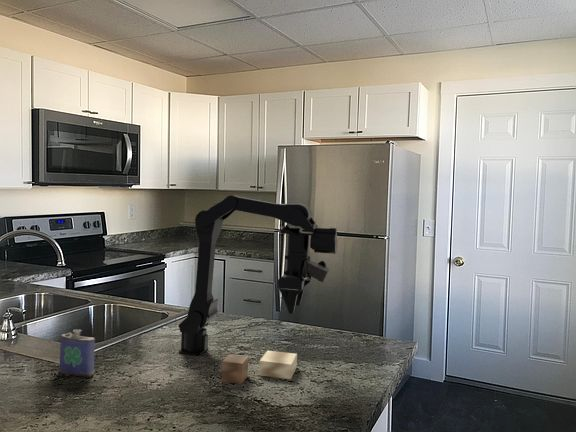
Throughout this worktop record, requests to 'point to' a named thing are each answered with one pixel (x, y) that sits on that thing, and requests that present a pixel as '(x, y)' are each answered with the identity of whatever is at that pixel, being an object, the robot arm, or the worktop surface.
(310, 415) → the worktop surface
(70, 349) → the flask
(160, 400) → the worktop surface
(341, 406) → the worktop surface
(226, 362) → the walnut cube
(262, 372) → the beech block
